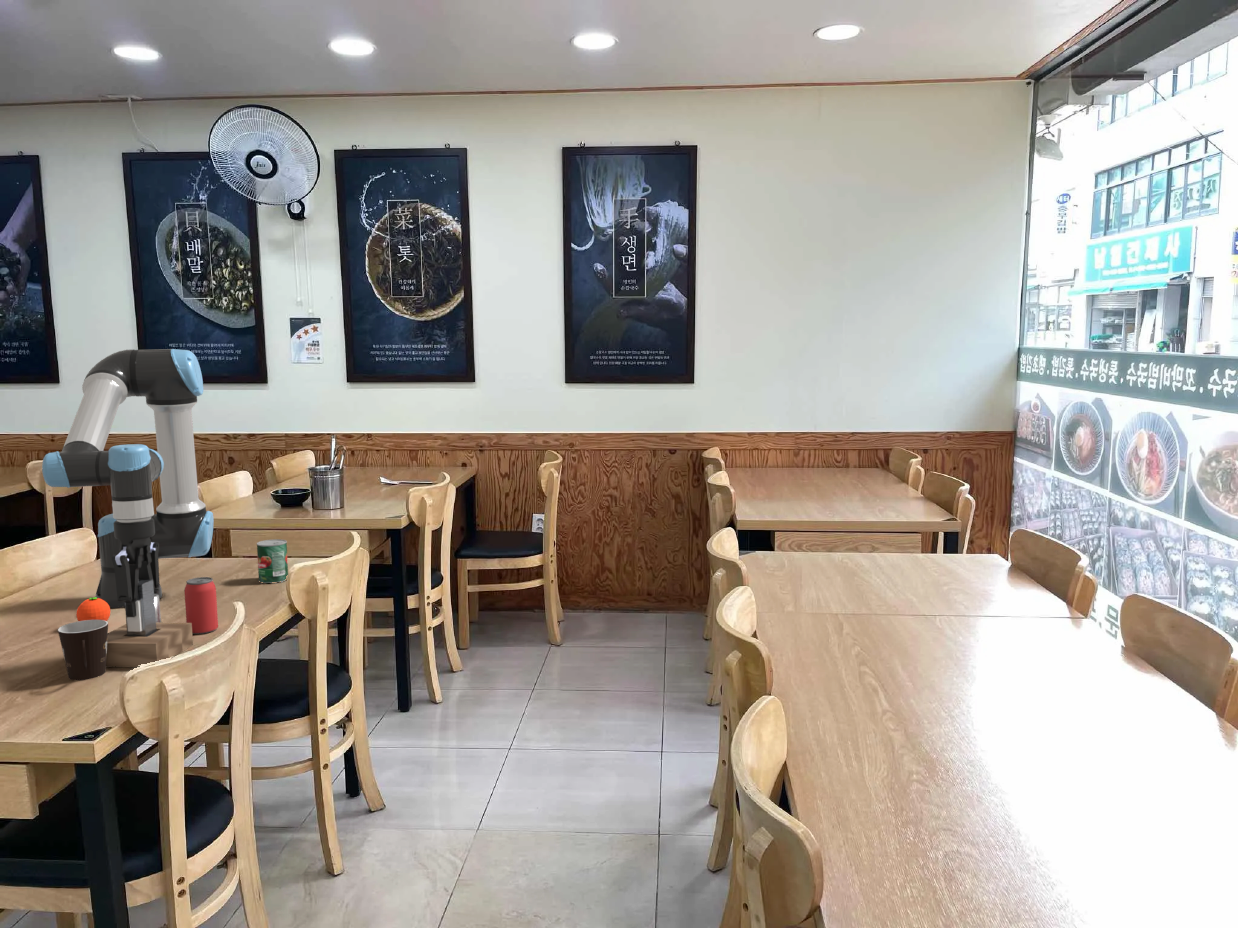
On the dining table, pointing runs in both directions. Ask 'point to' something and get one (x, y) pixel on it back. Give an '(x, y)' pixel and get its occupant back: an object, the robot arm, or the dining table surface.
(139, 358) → the robot arm
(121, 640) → the socket block
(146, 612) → the square bit
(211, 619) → the beer can
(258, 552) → the canned tomato
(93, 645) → the coffee mug
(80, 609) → the clementine
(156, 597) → the cylinder
